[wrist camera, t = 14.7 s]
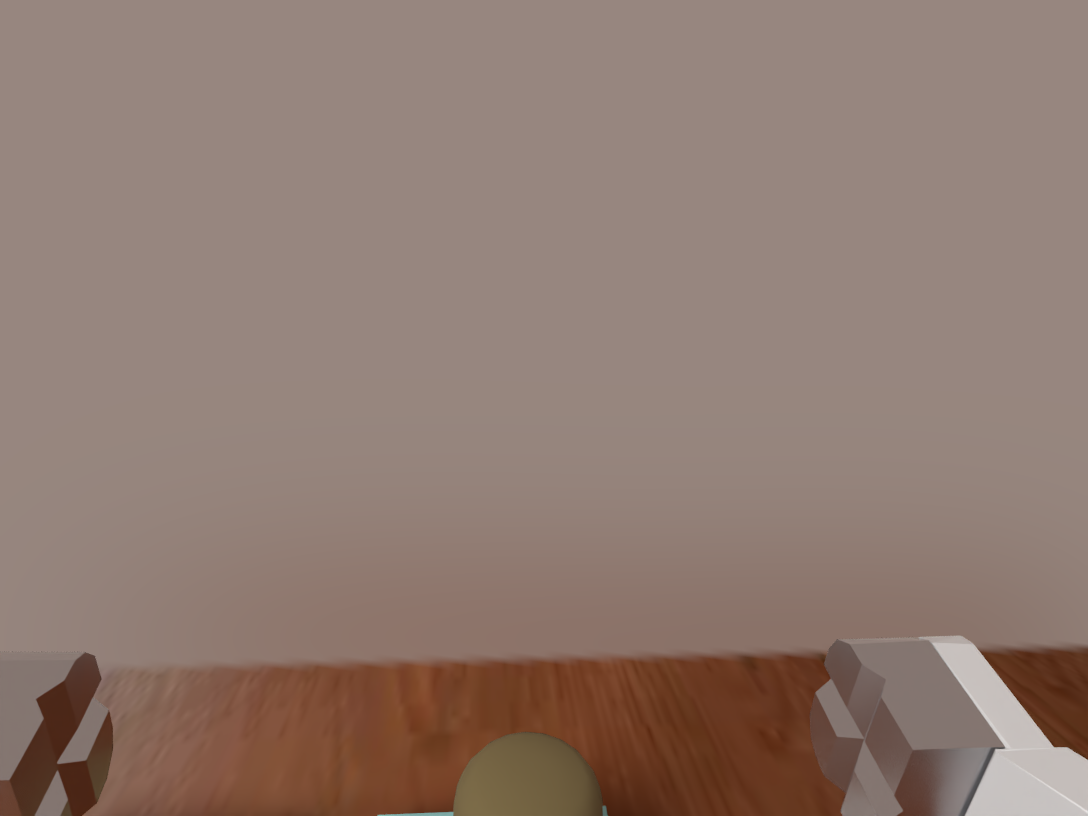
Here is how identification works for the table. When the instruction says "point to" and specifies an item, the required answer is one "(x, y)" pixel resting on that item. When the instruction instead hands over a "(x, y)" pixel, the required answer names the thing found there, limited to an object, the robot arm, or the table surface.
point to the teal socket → (450, 814)
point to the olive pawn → (528, 780)
